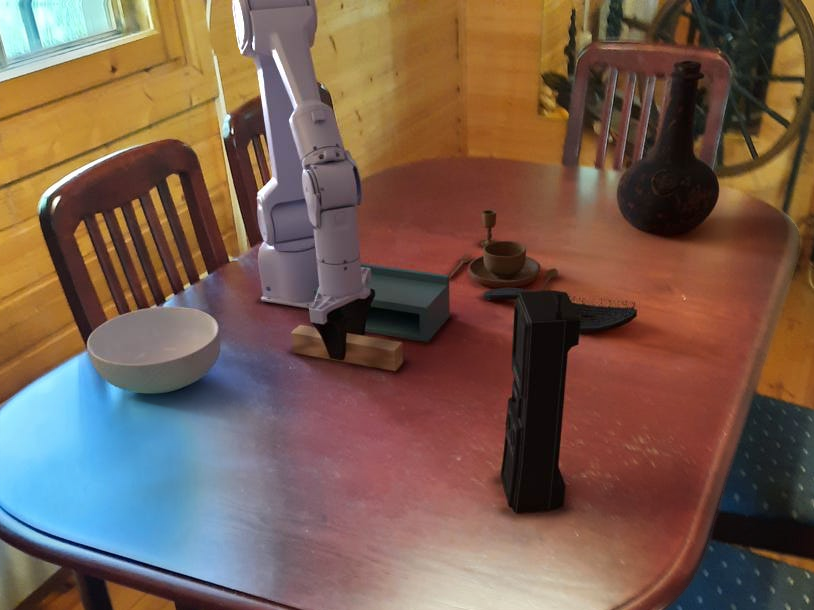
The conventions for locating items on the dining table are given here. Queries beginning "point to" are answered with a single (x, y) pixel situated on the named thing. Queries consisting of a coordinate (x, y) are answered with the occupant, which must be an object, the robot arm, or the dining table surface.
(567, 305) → the portable radio
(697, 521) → the dining table surface
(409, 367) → the dining table surface
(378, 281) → the shelf
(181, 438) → the dining table surface
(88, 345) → the cereal bowl
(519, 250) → the place setting
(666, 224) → the glass bottle
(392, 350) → the stick
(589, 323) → the hairbrush
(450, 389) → the dining table surface
